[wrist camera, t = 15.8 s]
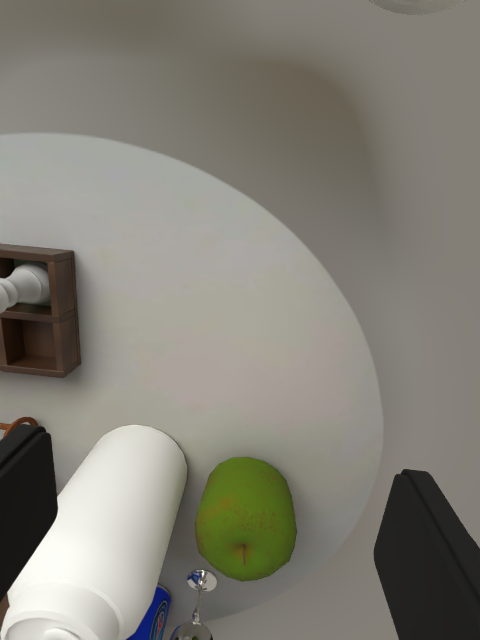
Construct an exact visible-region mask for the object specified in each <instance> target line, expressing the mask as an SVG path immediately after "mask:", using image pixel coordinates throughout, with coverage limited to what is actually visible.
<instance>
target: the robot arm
mask: <svg viewBox="0 0 480 640" xmlns="http://www.w3.org/2000/svg"><path fill="white" fill-rule="evenodd" d="M57 513H58V502H57V492H56V482H55V472H54V462H53V452H52V442H51V435H50V434H49V433H46V429H45V428H44V427H42V426H33V425H25V424H21V425H19V426H17V427H16V428H14V429H13V430H12V431H11V432H10V433H9V434H8V435H6V436H5V437H4V438H3V439H2V440H1V441H0V602H1V601H2V599H3V598H4V597H5V595H6V594H7V592H8V591H9V589H10V588H11V586H12V585H13V583H14V582H15V580H16V579H17V577H18V576H19V574H20V573H21V571H22V570H23V568H24V567H25V565H26V564H27V562H28V561H29V559H30V558H31V556H32V555H33V553H34V552H35V550H36V549H37V547H38V546H39V544H40V543H41V541H42V540H43V538H44V537H45V535H46V534H47V532H48V531H49V530H50V528H51V527H52V525H53V523H54V522H55V519H56V517H57ZM374 561H375V566H376V569H377V572H378V575H379V578H380V581H381V584H382V588H383V590H384V594H385V597H386V600H387V603H388V606H389V609H390V613H391V616H392V619H393V622H394V625H395V628H396V631H397V634H398V637H399V640H480V548H479V547H478V546H477V544H476V542H475V541H474V540H473V539H472V538H471V536H470V535H469V534H468V532H467V530H466V529H465V527H464V526H463V524H462V523H461V522H460V520H459V518H458V516H457V515H456V513H455V512H454V510H453V509H452V507H451V506H450V504H449V502H448V501H447V499H446V498H445V496H444V495H443V493H442V491H441V490H440V488H439V487H438V485H437V484H436V483H435V481H434V479H433V477H432V476H431V475H430V474H429V473H428V472H426V471H417V470H409V469H404V470H403V471H402V472H401V474H396V475H395V477H394V480H393V484H392V487H391V491H390V494H389V498H388V501H387V505H386V508H385V512H384V515H383V519H382V522H381V526H380V530H379V533H378V536H377V540H376V543H375V547H374Z"/></svg>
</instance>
